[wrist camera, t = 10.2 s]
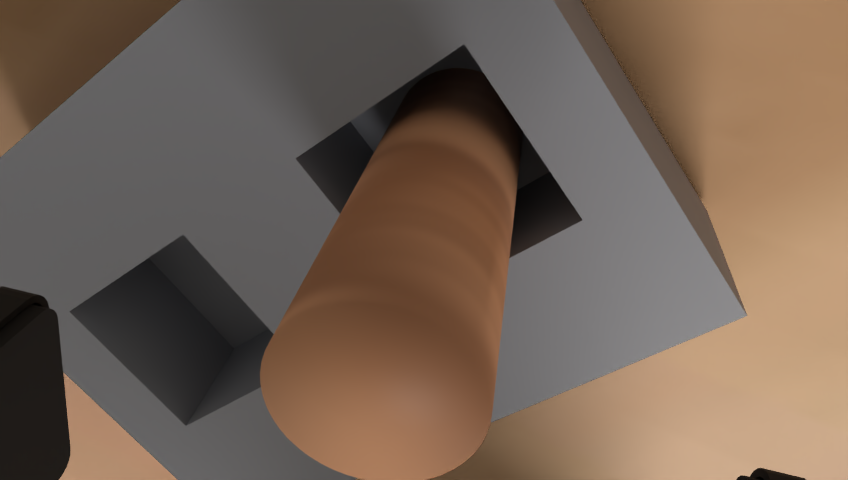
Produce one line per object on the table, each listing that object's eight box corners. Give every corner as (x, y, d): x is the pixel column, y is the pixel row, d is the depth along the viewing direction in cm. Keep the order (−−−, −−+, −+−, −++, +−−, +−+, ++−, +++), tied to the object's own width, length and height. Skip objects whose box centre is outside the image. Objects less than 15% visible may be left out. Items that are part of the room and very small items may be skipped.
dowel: (444, 208, 20) (356, 508, 11) (371, 112, 19) (213, 361, 10) (547, 148, 18) (539, 436, 10) (476, 41, 17) (396, 259, 9)
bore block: (284, 416, 26) (231, 530, 22) (36, 155, 23) (-86, 232, 18) (706, 210, 20) (747, 315, 16) (459, -201, 16) (424, -212, 12)
